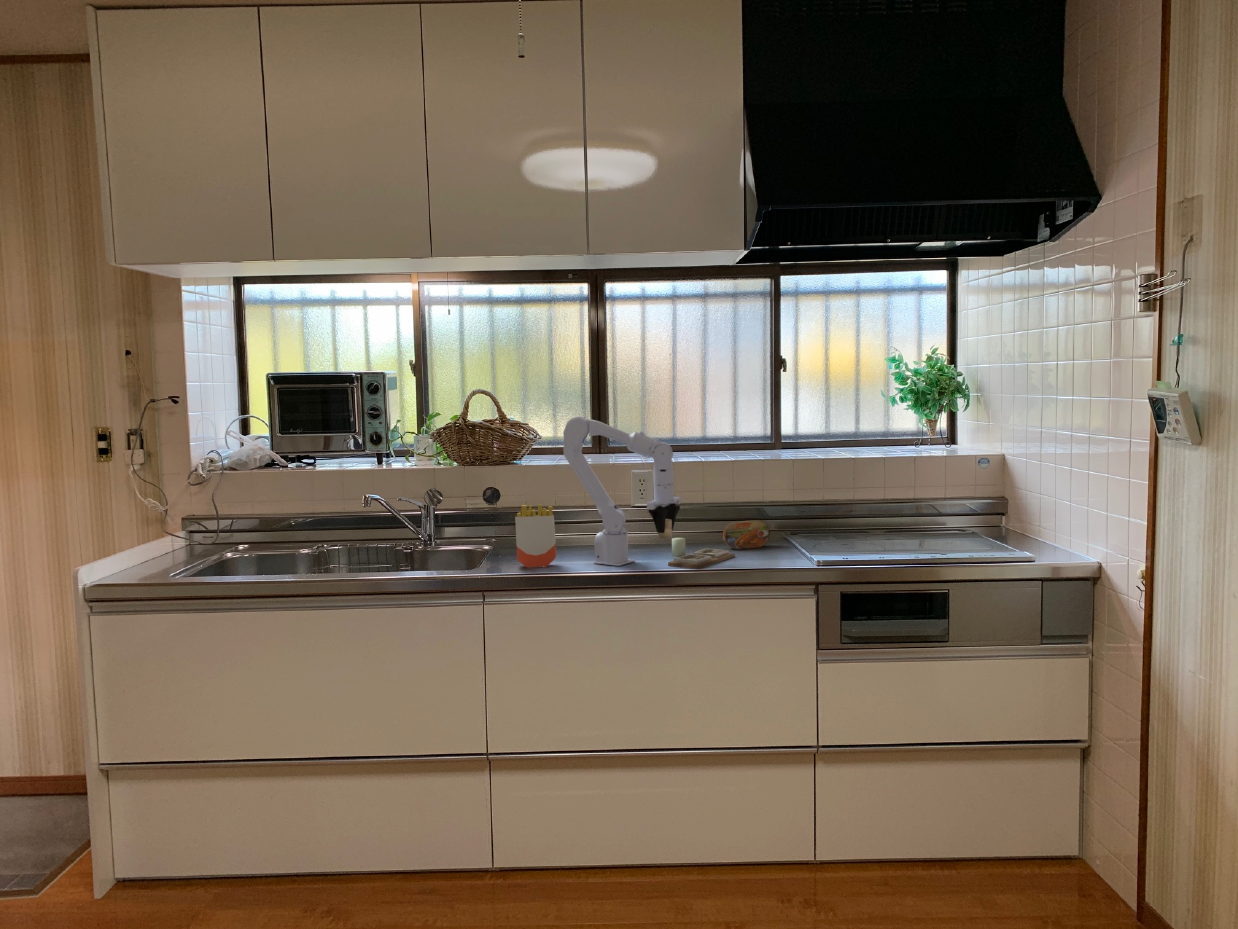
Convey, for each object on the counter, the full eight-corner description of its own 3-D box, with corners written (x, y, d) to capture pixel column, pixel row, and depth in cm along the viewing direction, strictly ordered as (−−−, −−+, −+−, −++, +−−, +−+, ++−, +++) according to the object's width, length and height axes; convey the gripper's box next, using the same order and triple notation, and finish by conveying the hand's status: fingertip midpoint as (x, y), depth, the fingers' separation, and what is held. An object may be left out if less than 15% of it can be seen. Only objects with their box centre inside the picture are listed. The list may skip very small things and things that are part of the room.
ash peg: (655, 537, 239) (655, 520, 239) (663, 535, 242) (662, 518, 242) (667, 538, 237) (666, 521, 236) (674, 536, 240) (674, 519, 240)
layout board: (668, 565, 234) (667, 558, 233) (704, 554, 250) (704, 547, 249) (698, 569, 228) (698, 561, 228) (734, 556, 244) (734, 549, 243)
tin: (725, 550, 254) (725, 523, 254) (721, 548, 258) (721, 521, 257) (770, 546, 258) (770, 519, 258) (766, 545, 261) (765, 518, 261)
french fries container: (519, 565, 243) (516, 504, 241) (556, 564, 243) (554, 502, 241) (517, 568, 238) (514, 506, 237) (555, 567, 238) (552, 504, 237)
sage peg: (669, 555, 249) (669, 539, 248) (676, 553, 252) (676, 537, 252) (681, 557, 246) (680, 540, 246) (688, 554, 250) (687, 538, 249)
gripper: (661, 487, 230) (662, 536, 231) (688, 482, 242) (690, 528, 243) (640, 486, 234) (641, 534, 235) (668, 481, 246) (669, 527, 247)
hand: (665, 531), depth 239 cm, fingers closed on ash peg, 4 cm apart
